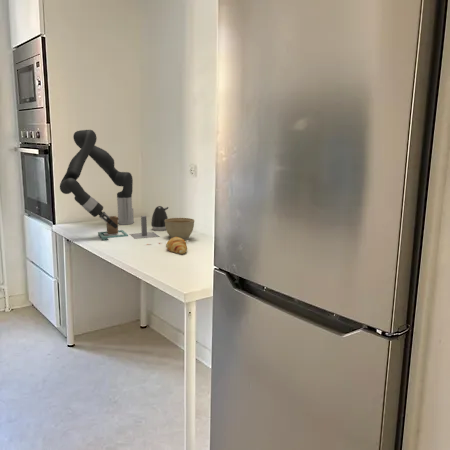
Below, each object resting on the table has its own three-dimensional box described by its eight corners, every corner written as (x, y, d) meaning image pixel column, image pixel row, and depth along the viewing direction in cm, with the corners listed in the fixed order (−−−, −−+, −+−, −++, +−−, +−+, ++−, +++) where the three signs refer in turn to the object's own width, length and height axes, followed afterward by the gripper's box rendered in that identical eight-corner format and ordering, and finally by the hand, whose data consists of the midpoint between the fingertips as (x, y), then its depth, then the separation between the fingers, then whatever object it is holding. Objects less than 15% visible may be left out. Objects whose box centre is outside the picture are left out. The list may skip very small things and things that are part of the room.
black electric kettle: (171, 232, 263) (170, 206, 260) (153, 233, 259) (152, 207, 257) (166, 229, 272) (166, 204, 270) (149, 230, 269) (149, 205, 266)
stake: (129, 236, 253) (128, 215, 250) (153, 233, 258) (152, 213, 256) (134, 241, 240) (134, 219, 238) (160, 238, 246) (159, 217, 244)
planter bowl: (194, 242, 237) (194, 222, 235) (163, 243, 236) (163, 222, 234) (194, 236, 253) (194, 217, 251) (166, 236, 252) (165, 217, 250)
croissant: (189, 261, 213) (196, 246, 213) (171, 254, 209) (178, 238, 209) (174, 250, 232) (181, 237, 232) (158, 243, 227) (165, 229, 228)
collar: (107, 232, 251) (106, 216, 249) (117, 231, 254) (117, 215, 252) (108, 234, 246) (107, 218, 245) (119, 233, 249) (118, 217, 247)
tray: (98, 235, 254) (97, 232, 253) (122, 233, 259) (122, 230, 259) (102, 240, 241) (102, 236, 241) (128, 238, 247) (128, 234, 247)
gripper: (99, 203, 237) (123, 223, 244) (95, 199, 250) (117, 219, 257) (89, 213, 236) (113, 233, 243) (85, 209, 249) (108, 229, 256)
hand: (115, 226), depth 250 cm, fingers closed on collar, 5 cm apart
